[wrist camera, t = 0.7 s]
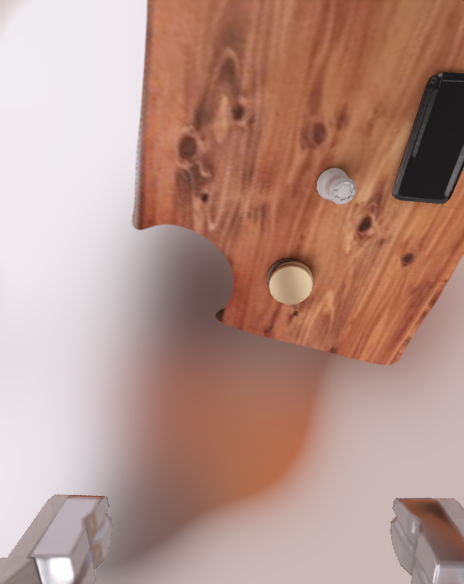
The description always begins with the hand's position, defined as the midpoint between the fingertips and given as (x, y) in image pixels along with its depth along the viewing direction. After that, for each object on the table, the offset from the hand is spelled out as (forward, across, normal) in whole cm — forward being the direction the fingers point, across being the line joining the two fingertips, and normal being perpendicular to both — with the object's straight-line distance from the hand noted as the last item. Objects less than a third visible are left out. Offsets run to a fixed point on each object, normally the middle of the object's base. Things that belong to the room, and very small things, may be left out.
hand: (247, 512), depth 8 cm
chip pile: (+44, -8, +2) cm, 44 cm away
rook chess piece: (+40, -13, -13) cm, 44 cm away
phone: (+38, -27, -17) cm, 49 cm away
